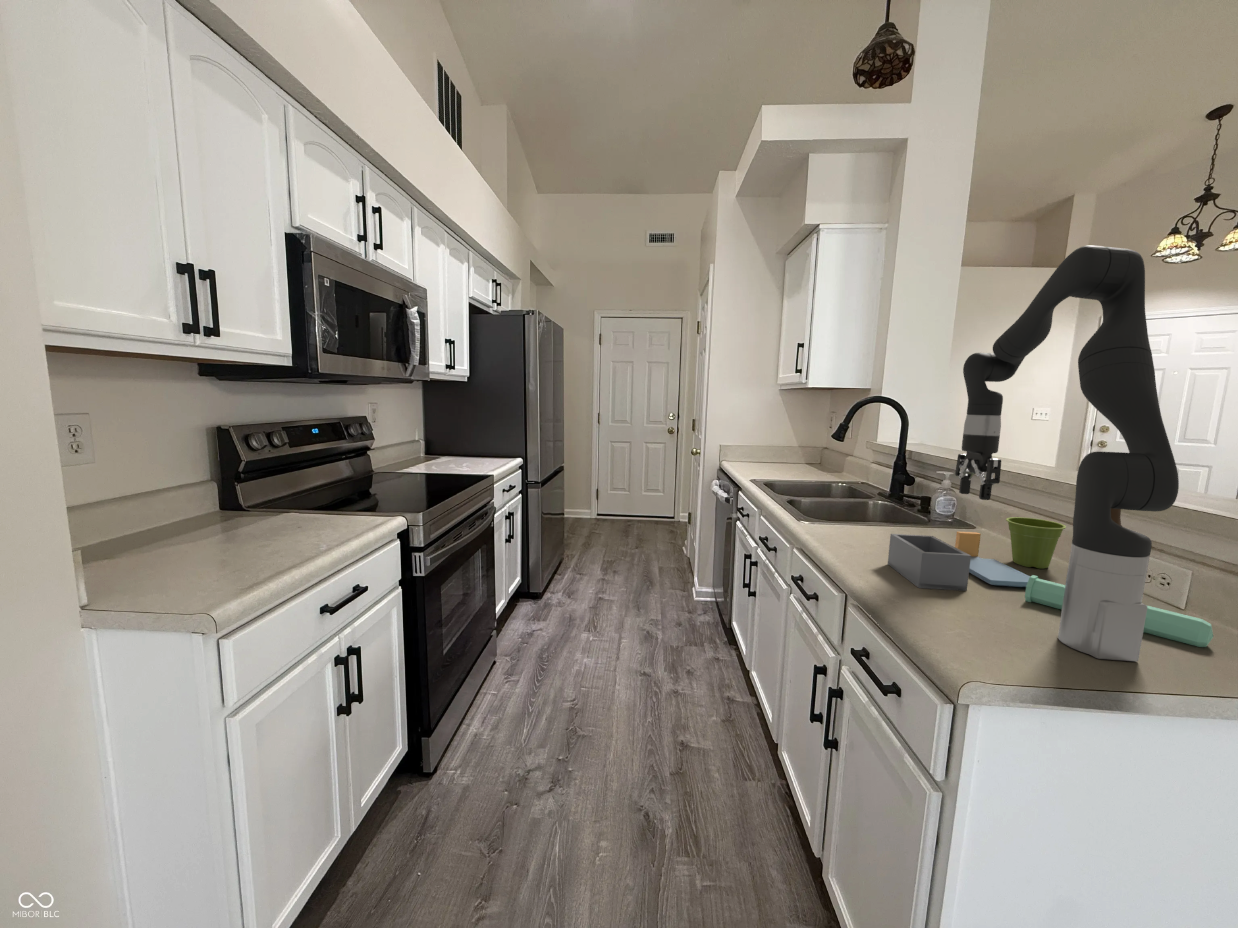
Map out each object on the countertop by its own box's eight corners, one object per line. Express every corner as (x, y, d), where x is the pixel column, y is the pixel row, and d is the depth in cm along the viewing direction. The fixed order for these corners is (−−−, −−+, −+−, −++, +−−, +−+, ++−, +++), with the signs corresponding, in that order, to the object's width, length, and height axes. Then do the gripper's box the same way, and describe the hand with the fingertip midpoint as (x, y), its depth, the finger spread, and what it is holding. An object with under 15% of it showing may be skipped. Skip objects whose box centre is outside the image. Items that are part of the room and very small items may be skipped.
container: (1218, 613, 85) (1034, 569, 104) (1214, 633, 82) (1025, 584, 101) (1212, 639, 87) (1033, 591, 106) (1208, 660, 84) (1024, 607, 103)
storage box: (966, 590, 108) (970, 555, 107) (918, 587, 109) (922, 552, 108) (929, 566, 124) (932, 535, 123) (887, 564, 125) (890, 533, 124)
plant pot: (1007, 554, 136) (1012, 514, 135) (1064, 566, 127) (1070, 523, 126) (995, 562, 129) (1000, 520, 127) (1054, 575, 120) (1061, 530, 118)
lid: (1042, 591, 109) (1047, 556, 108) (989, 588, 110) (994, 554, 109) (985, 562, 129) (989, 533, 128) (941, 560, 130) (944, 530, 129)
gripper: (1016, 435, 117) (1008, 502, 119) (979, 432, 131) (972, 492, 133) (983, 434, 117) (975, 501, 119) (949, 431, 132) (943, 491, 133)
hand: (973, 496), depth 126 cm, fingers open, 8 cm apart
